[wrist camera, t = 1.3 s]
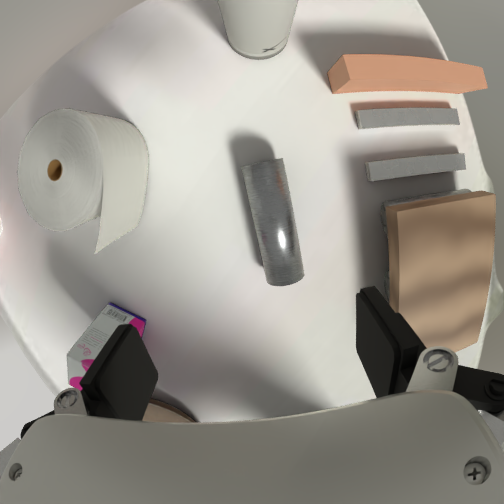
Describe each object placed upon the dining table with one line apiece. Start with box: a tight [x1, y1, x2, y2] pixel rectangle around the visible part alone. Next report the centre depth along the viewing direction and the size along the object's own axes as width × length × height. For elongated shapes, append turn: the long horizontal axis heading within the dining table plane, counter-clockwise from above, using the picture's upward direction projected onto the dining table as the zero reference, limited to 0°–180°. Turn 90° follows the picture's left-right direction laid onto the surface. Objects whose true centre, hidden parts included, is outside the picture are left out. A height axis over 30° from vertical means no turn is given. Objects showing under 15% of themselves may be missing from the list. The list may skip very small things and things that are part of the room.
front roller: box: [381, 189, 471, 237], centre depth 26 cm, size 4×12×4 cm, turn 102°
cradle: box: [355, 108, 466, 181], centre depth 25 cm, size 8×14×1 cm, turn 102°
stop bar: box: [327, 54, 488, 94], centre depth 21 cm, size 2×18×6 cm, turn 102°
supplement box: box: [67, 302, 146, 391], centre depth 29 cm, size 6×6×12 cm
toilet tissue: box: [17, 108, 149, 254], centre depth 23 cm, size 11×12×10 cm
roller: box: [242, 158, 304, 286], centre depth 28 cm, size 12×4×4 cm, turn 12°
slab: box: [386, 191, 496, 353], centre depth 26 cm, size 20×14×2 cm
